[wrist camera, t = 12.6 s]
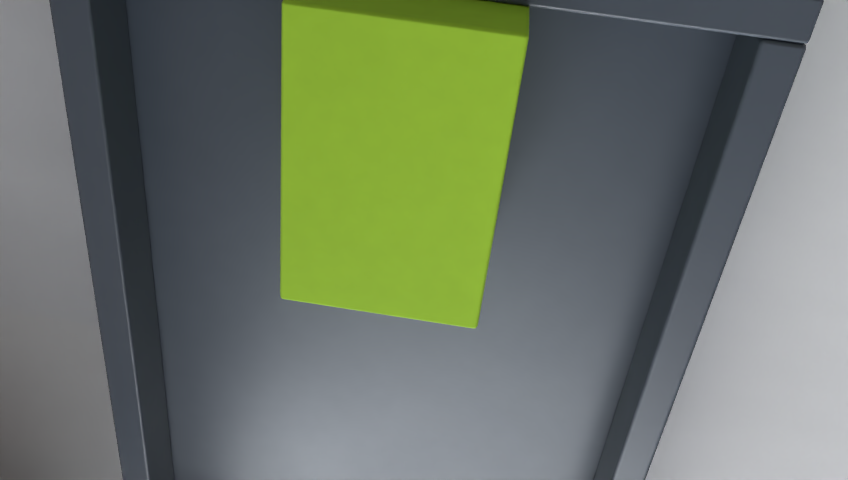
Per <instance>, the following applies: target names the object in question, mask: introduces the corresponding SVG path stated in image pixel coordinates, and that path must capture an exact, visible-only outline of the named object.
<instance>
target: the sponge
mask: <svg viewBox="0 0 848 480" xmlns="http://www.w3.org/2000/svg"><path fill="white" fill-rule="evenodd" d="M528 40H529V6H523V5H515V4H508V3H501V2H493V1H486V0H283V1H282V22H281V228H280V296H281V298H282V299H287V300H293V301H299V302H306V303H312V304H319V305H325V306H332V307H338V308H345V309H351V310H357V311H364V312H370V313H377V314H383V315H390V316H396V317H403V318H409V319H416V320H422V321H428V322H435V323H441V324H448V325H454V326H461V327H467V328H476V327H477V326H478V321H479V316H480V310H481V304H482V299H483V293H484V287H485V282H486V276H487V271H488V265H489V259H490V254H491V248H492V242H493V237H494V231H495V226H496V220H497V214H498V209H499V203H500V197H501V192H502V186H503V181H504V175H505V169H506V164H507V158H508V152H509V147H510V141H511V135H512V130H513V124H514V119H515V113H516V107H517V102H518V96H519V90H520V85H521V79H522V74H523V68H524V62H525V57H526V51H527V45H528Z"/></svg>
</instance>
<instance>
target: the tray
mask: <svg viewBox="0 0 848 480" xmlns="http://www.w3.org/2000/svg"><path fill="white" fill-rule="evenodd" d="M49 1H50V7H51V14H52V20H53V27H54V33H55V40H56V46H57V53H58V59H59V66H60V73H61V79H62V86H63V92H64V99H65V105H66V112H67V118H68V125H69V131H70V138H71V144H72V151H73V157H74V164H75V170H76V177H77V183H78V190H79V196H80V203H81V209H82V216H83V222H84V229H85V235H86V242H87V248H88V255H89V261H90V268H91V274H92V281H93V287H94V294H95V300H96V307H97V313H98V320H99V327H100V333H101V340H102V346H103V353H104V359H105V366H106V372H107V379H108V385H109V392H110V398H111V405H112V411H113V418H114V424H115V431H116V437H117V444H118V450H119V457H120V463H121V470H122V476H123V480H645V478H646V475H647V473H648V470H649V467H650V465H651V462H652V459H653V457H654V454H655V451H656V449H657V446H658V443H659V441H660V438H661V435H662V433H663V430H664V427H665V424H666V422H667V419H668V416H669V414H670V411H671V408H672V406H673V403H674V400H675V398H676V395H677V392H678V390H679V387H680V384H681V382H682V379H683V376H684V374H685V371H686V368H687V366H688V363H689V360H690V358H691V355H692V352H693V350H694V347H695V344H696V342H697V339H698V336H699V334H700V331H701V328H702V325H703V323H704V320H705V317H706V315H707V312H708V309H709V307H710V304H711V301H712V299H713V296H714V293H715V291H716V288H717V285H718V283H719V280H720V277H721V275H722V272H723V269H724V267H725V264H726V261H727V259H728V256H729V253H730V251H731V248H732V245H733V243H734V240H735V237H736V235H737V232H738V229H739V226H740V224H741V221H742V218H743V216H744V213H745V210H746V208H747V205H748V202H749V200H750V197H751V194H752V192H753V189H754V186H755V184H756V181H757V178H758V176H759V173H760V170H761V168H762V165H763V162H764V160H765V157H766V154H767V152H768V149H769V146H770V144H771V141H772V138H773V136H774V133H775V130H776V127H777V125H778V122H779V119H780V117H781V114H782V111H783V109H784V106H785V103H786V101H787V98H788V95H789V93H790V90H791V87H792V85H793V82H794V79H795V77H796V74H797V71H798V69H799V66H800V63H801V61H802V58H803V55H804V53H805V50H806V45H805V44H804V43H808V41H809V40H810V37H811V34H812V32H813V29H814V26H815V24H816V21H817V18H818V16H819V13H820V10H821V8H822V5H823V2H824V1H823V0H486V1H493V2H501V3H508V4H515V5H523V6H529V40H528V45H527V51H526V57H525V62H524V68H523V74H522V79H521V85H520V90H519V96H518V102H517V107H516V113H515V119H514V124H513V130H512V135H511V141H510V147H509V152H508V158H507V164H506V169H505V175H504V181H503V186H502V192H501V197H500V203H499V209H498V214H497V220H496V226H495V231H494V237H493V242H492V248H491V254H490V259H489V265H488V271H487V276H486V282H485V287H484V293H483V299H482V304H481V310H480V316H479V321H478V326H477V327H476V328H467V327H461V326H454V325H448V324H441V323H435V322H428V321H422V320H416V319H409V318H403V317H396V316H390V315H383V314H377V313H370V312H364V311H357V310H351V309H345V308H338V307H332V306H325V305H319V304H312V303H306V302H299V301H293V300H287V299H282V298H281V296H280V228H281V22H282V1H283V0H49Z"/></svg>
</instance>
